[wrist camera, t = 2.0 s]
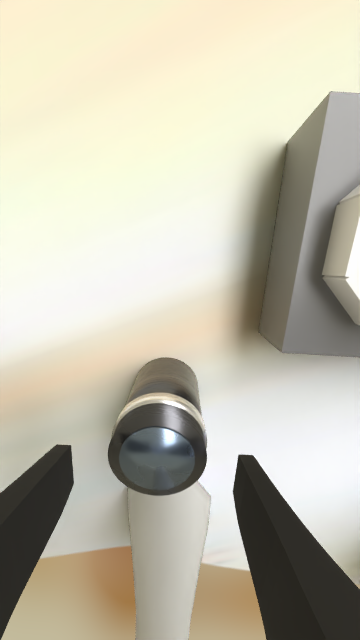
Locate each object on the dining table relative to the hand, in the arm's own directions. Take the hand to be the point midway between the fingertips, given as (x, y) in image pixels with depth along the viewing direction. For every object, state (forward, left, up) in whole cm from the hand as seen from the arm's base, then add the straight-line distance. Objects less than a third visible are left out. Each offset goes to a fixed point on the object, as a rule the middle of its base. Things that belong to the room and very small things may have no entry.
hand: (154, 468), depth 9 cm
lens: (0, 0, -7) cm, 7 cm away
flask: (-1, +11, -7) cm, 13 cm away
